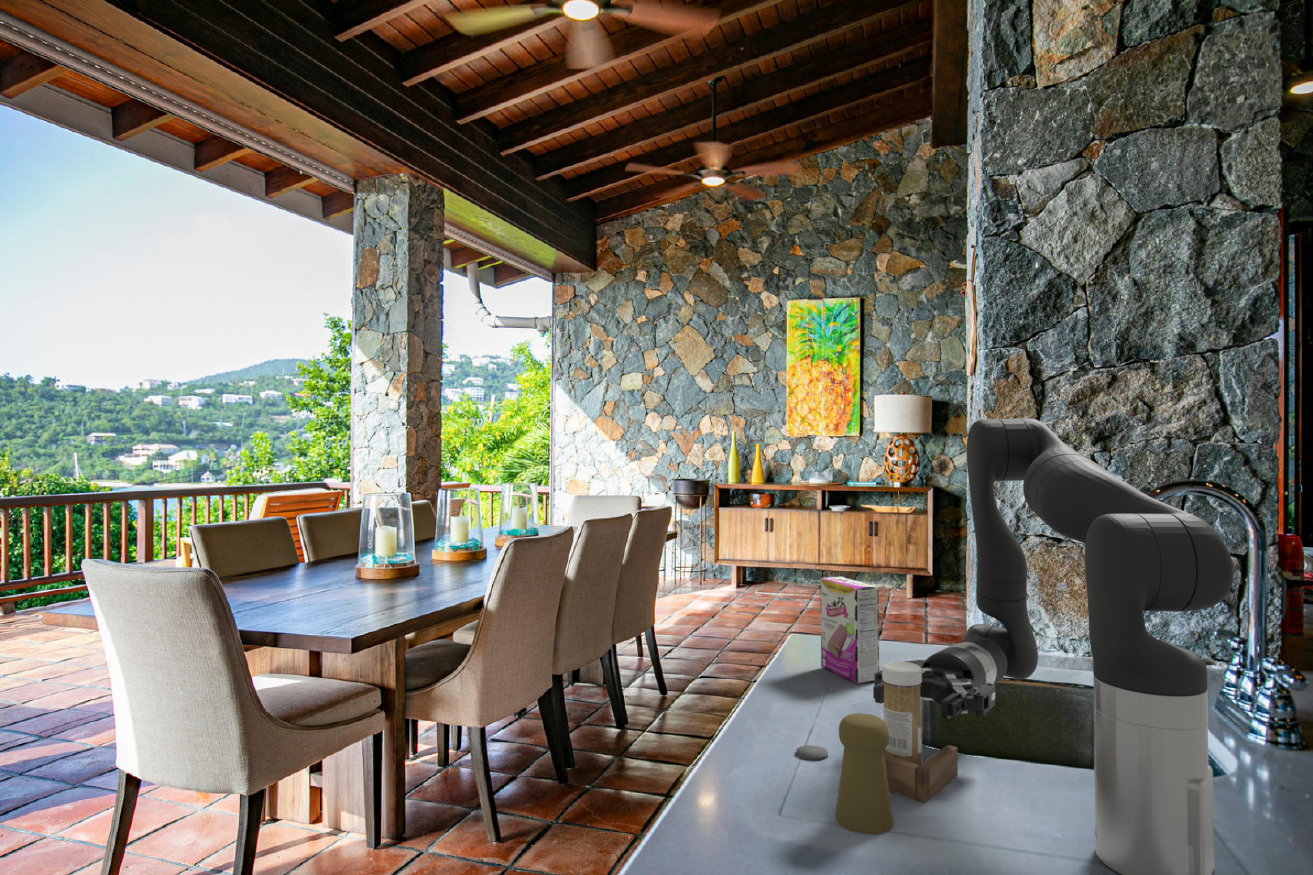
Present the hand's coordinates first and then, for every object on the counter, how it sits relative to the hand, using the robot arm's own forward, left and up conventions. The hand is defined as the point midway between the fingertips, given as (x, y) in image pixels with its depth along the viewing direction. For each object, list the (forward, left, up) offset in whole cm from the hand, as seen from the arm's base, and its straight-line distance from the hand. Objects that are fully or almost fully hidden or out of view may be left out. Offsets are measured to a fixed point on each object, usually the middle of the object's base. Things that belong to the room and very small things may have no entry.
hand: (910, 702), depth 95 cm
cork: (-2, +15, -9) cm, 18 cm away
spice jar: (0, +2, -9) cm, 9 cm away
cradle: (0, +2, -8) cm, 9 cm away
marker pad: (+12, +3, -8) cm, 15 cm away
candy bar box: (+26, -33, -9) cm, 43 cm away
